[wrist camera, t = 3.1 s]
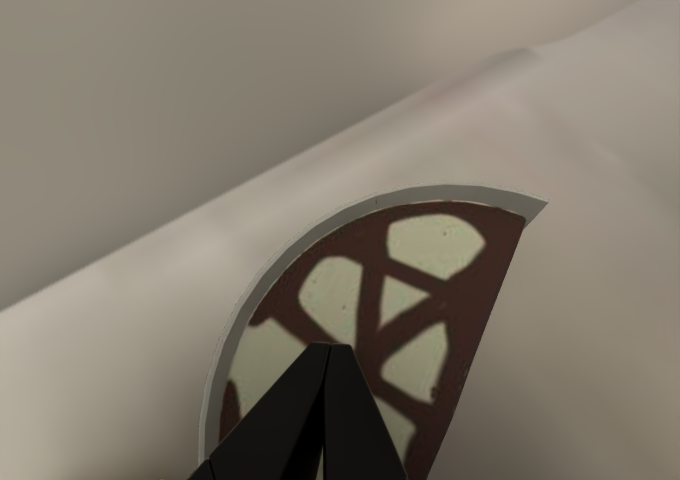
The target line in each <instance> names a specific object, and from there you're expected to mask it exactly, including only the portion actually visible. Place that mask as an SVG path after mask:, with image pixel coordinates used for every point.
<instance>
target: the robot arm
mask: <svg viewBox="0 0 680 480" xmlns="http://www.w3.org/2000/svg"><path fill="white" fill-rule="evenodd" d="M322 449H323V480H409V479H407V478H408V475H407V473H406V471H405V468H404V466H403V464H402V461H401V459H400V457H399V454H398V452H397V450H396V447H395V445H394V443H393V440H392V438H391V436H390V433H389V431H388V429H387V427H386V424H385V422H384V420H383V417H382V415H381V413H380V410H379V408H378V406H377V403H376V401H375V399H374V396H373V394H372V392H371V389H370V387H369V385H368V383H367V380H366V378H365V376H364V373H363V371H362V369H361V366H360V364H359V362H358V359H357V357H356V355H355V352H354V350H353V348H352V346H351V345H350V344H343V343H333V344H332V345H331V344H330V343H328V342H317V341H313V342H311V343H310V344H309V345H308V346H307V347H306V348H305V350H304V351H303V352H302V353H301V354H300V355H299V356H298V357H297V358H296V359H295V361H294V362H293V363H292V364H291V365H290V366H289V367H288V368H287V369H286V371H285V372H284V373H283V374H282V375H281V376H280V377H279V378H278V379H277V381H276V382H275V383H274V384H273V385H272V386H271V387H270V388H269V389H268V390H267V392H266V393H265V394H264V395H263V396H262V397H261V398H260V399H259V400H258V402H257V403H256V404H255V405H254V406H253V407H252V408H251V409H250V410H249V412H248V413H247V414H246V415H245V416H244V417H243V418H242V419H241V420H240V421H239V423H238V424H237V425H236V426H235V427H234V428H233V429H232V430H231V431H230V433H229V434H228V435H227V436H226V437H225V438H224V439H223V440H222V441H221V442H220V444H219V445H218V446H217V447H216V448H215V449H214V450H213V451H212V452H211V454H210V455H209V456H208V458H209V459H205V460H204V461H203V462H202V463H201V464H200V465H199V467H198V468H197V469H196V470H195V471H194V472H193V473H192V474H191V475H190V476H189V478H188V479H187V480H316V477H317V473H318V469H319V464H320V460H321V455H322Z"/></svg>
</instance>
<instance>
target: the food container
mask: <svg viewBox="0 0 680 480" xmlns="http://www.w3.org/2000/svg"><path fill="white" fill-rule="evenodd" d="M548 203H549V199H546V198H542V197H539V196H536V195H533V194H530V193H527V192H524V191H520V190H517V189H513V188H507V187H502V186H496V185H491V184H485V183H479V182H456V181H439V182H429V183H418V184H409V185H405V186H401V187H397V188H392V189H388V190H384V191H380V192H376V193H373V194H370V195H368V196H365V197H363V198H360V199H358V200H355V201H353V202H350V203H348V204H345V205H343V206H340V207H338V208H336V209H335V210H333V211H331V212H330V213H328V214H326V215H324V216H323V217H321V218H319V219H318V220H316V221H314V222H312V223H311V224H309V225H308V226H307V227H305V228H304V229H303V230H302V231H300V232H299V233H298V234H297V235H295V236H294V237H293V238H292V239H290V240H289V241H288V242H287V243H285V244H284V245H283V246H282V247H281V248H280V249H279V250H278V251H277V252H276V253H275V254H274V255H273V257H272V258H271V259H270V260H269V261H268V262H267V263H266V264H265V265H264V266H263V267H262V268H261V269H260V271H259V272H258V273H257V274H256V276H255V277H254V278H253V280H252V281H251V283H250V284H249V286H248V287H247V289H246V290H245V292H244V293H243V295H242V296H241V298H240V299H239V300H238V302H237V303H236V305H235V307H234V309H233V311H232V313H231V315H230V317H229V319H228V322H227V324H226V326H225V328H224V330H223V332H222V334H221V336H220V338H219V340H218V343H217V347H216V350H215V353H214V356H213V359H212V362H211V365H210V368H209V371H208V375H207V378H206V383H205V389H204V395H203V401H202V407H201V412H200V418H199V441H198V467H199V465H200V464H201V463H202V462H203V461H204V460H205V459H209V458H208V456H209V455H210V454H211V452H212V451H213V450H214V449H215V448H216V447H217V446H218V445H219V444H220V442H221V441H222V440H223V439H224V438H225V437H226V436H227V435H228V434H229V433H230V431H231V430H232V429H233V428H234V427H235V426H236V425H237V424H238V423H239V421H240V420H241V419H242V418H243V417H244V416H245V415H246V414H247V413H248V412H249V410H250V409H251V408H252V407H253V406H254V405H255V404H256V403H257V402H258V400H259V399H260V398H261V397H262V396H263V395H264V394H265V393H266V392H267V390H268V389H269V388H270V387H271V386H272V385H273V384H274V383H275V382H276V381H277V379H278V378H279V377H280V376H281V375H282V374H283V373H284V372H285V371H286V369H287V368H288V367H289V366H290V365H291V364H292V363H293V362H294V361H295V359H296V358H297V357H298V356H299V355H300V354H301V353H302V352H303V351H304V350H305V348H306V347H307V346H308V345H309V344H310V343H311V342H313V341H317V342H328V343H330V344H331V345H332V344H333V343H343V344H350V345H351V346H352V348H353V350H354V352H355V355H356V357H357V359H358V362H359V364H360V366H361V369H362V371H363V373H364V376H365V378H366V380H367V383H368V385H369V387H370V389H371V392H372V394H373V396H374V399H375V401H376V403H377V406H378V408H379V410H380V413H381V415H382V417H383V420H384V422H385V424H386V427H387V429H388V431H389V433H390V436H391V438H392V440H393V443H394V445H395V447H396V450H397V452H398V454H399V457H400V459H401V461H402V464H403V466H404V468H405V471H406V473H407V475H408V478H407V479H409V480H426V479H427V476H428V474H429V472H430V469H431V467H432V465H433V462H434V460H435V458H436V455H437V453H438V451H439V448H440V446H441V443H442V441H443V439H444V436H445V434H446V432H447V429H448V427H449V425H450V422H451V420H452V418H453V415H454V412H455V409H456V406H457V403H458V401H459V398H460V395H461V392H462V389H463V387H464V384H465V381H466V378H467V375H468V372H469V370H470V367H471V364H472V361H473V359H474V356H475V353H476V351H477V348H478V345H479V343H480V340H481V337H482V335H483V332H484V330H485V327H486V324H487V322H488V319H489V316H490V314H491V311H492V309H493V306H494V303H495V301H496V298H497V296H498V293H499V291H500V288H501V286H502V283H503V280H504V278H505V275H506V273H507V270H508V268H509V265H510V262H511V260H512V257H513V255H514V252H515V249H516V247H517V244H518V241H519V239H520V236H521V234H522V231H523V229H524V228H525V227H526V226H527V225H528V224H529V223H530V222H531V221H532V220H533V219H534V218H535V217H536V216H537V215H538V213H539V212H540V211H541V210H542V209H543V208H544V207H545V206H546V205H547V204H548ZM316 480H323V449H322V455H321V460H320V464H319V469H318V473H317V477H316Z"/></svg>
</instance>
